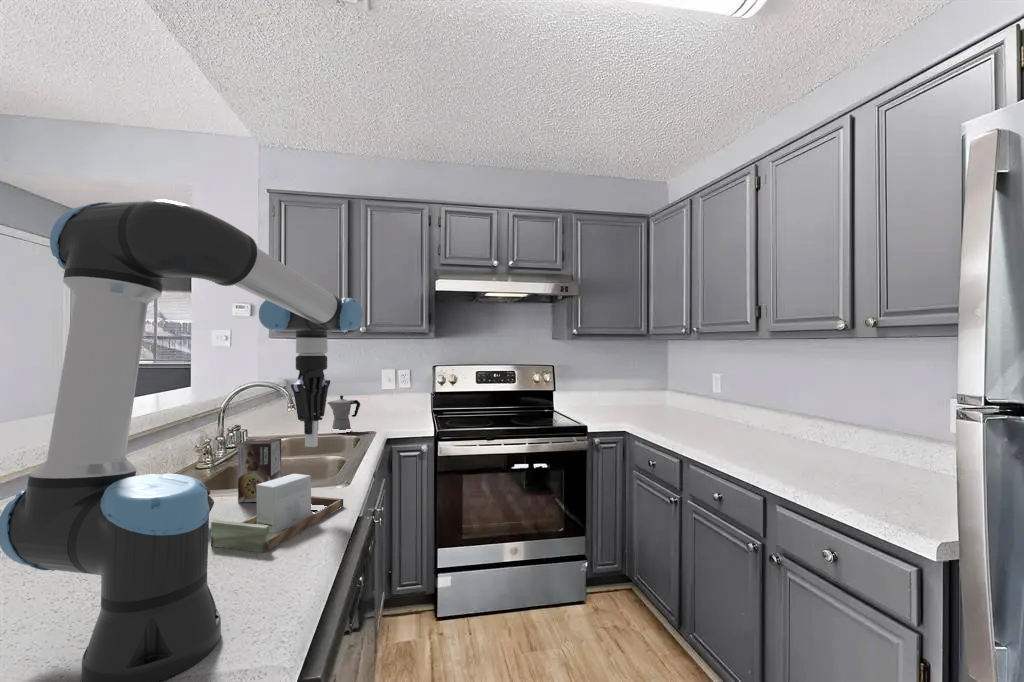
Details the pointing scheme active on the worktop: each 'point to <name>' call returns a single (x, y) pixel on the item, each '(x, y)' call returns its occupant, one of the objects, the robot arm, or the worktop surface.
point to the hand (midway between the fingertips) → (311, 446)
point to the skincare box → (283, 501)
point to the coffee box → (257, 465)
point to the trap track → (265, 529)
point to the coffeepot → (342, 412)
